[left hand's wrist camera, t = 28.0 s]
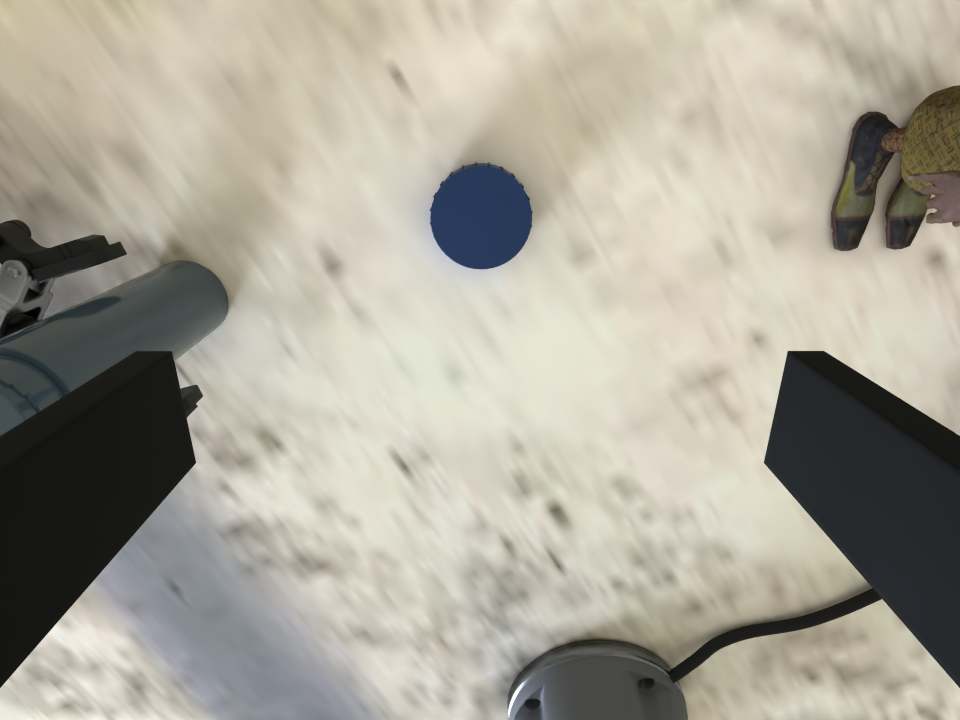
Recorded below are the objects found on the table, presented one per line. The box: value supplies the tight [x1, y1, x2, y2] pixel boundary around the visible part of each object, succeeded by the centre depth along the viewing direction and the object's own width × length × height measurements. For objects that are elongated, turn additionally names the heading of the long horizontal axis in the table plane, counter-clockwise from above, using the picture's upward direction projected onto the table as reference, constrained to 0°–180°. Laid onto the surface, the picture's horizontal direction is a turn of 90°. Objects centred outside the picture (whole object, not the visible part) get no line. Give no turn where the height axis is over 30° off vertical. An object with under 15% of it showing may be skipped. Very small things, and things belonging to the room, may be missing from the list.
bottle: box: [0, 261, 228, 436], centre depth 28 cm, size 5×5×17 cm
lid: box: [430, 162, 532, 269], centre depth 33 cm, size 6×6×2 cm
